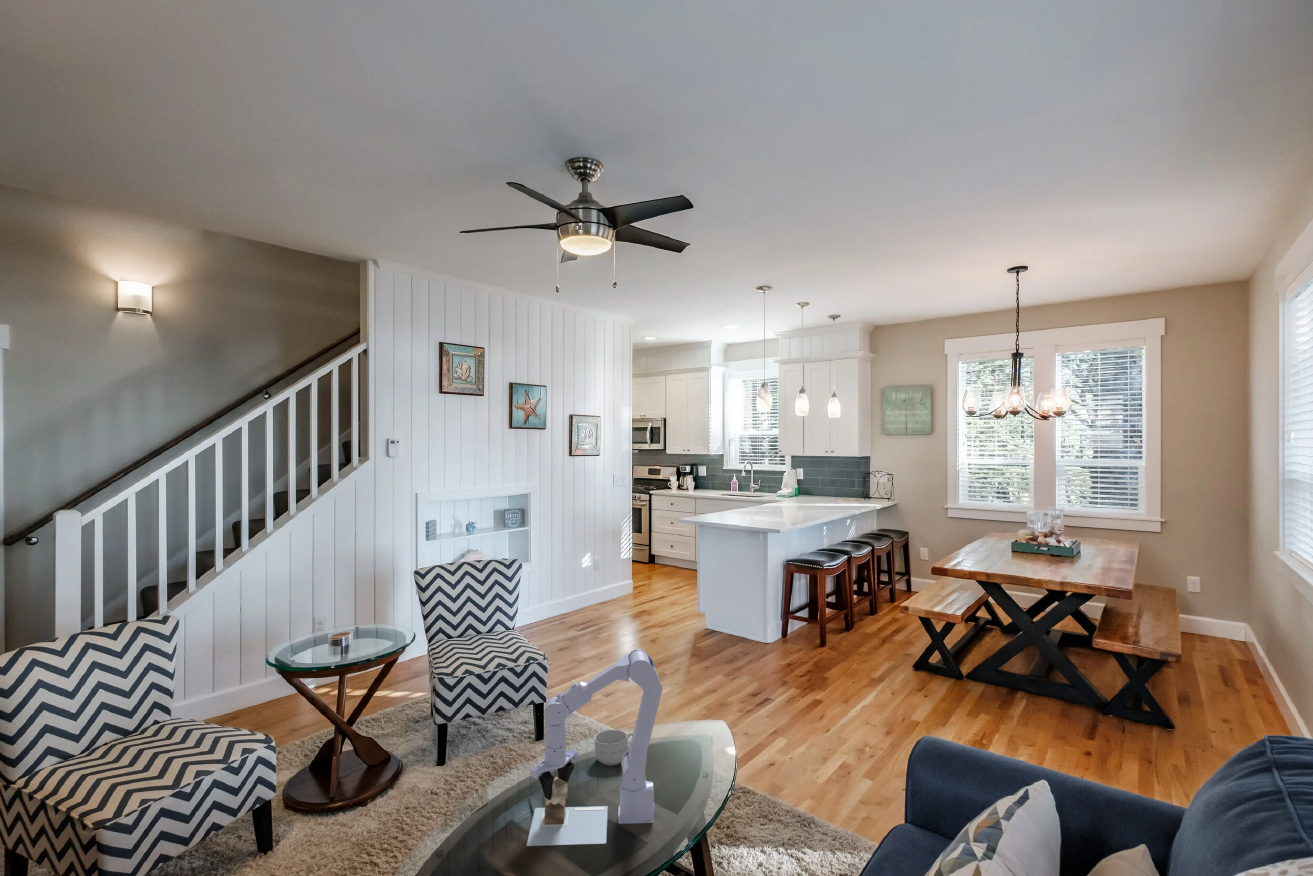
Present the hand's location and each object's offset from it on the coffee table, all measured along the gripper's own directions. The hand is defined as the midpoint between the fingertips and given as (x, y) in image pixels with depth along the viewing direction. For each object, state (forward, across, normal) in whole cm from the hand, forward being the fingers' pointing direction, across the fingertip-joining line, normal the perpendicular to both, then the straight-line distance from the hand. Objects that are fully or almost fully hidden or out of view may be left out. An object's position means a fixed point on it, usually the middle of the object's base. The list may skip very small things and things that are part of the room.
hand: (555, 794), depth 167 cm
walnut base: (+6, 0, 0) cm, 6 cm away
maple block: (+1, 0, 0) cm, 1 cm away
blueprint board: (+7, -1, +5) cm, 9 cm away
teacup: (+7, -33, -11) cm, 36 cm away
